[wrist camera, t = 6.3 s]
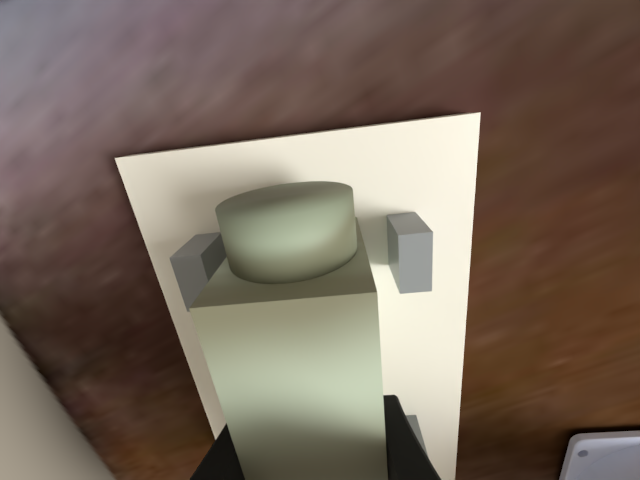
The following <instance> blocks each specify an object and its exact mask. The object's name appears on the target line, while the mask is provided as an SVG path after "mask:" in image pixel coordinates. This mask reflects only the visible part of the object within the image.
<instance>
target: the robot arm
mask: <svg viewBox="0 0 640 480" xmlns="http://www.w3.org/2000/svg"><path fill="white" fill-rule="evenodd" d="M383 400H384V418H385V435H386V453H387V470H388V480H441V478H440V477H439V475H438V473H437V472H436V470H435V468H434V467H433V465H432V463H431V462H430V460H429V458H428V456H427V455H426V453H425V451H424V450H423V448H422V446H421V444H420V443H419V441H418V439H417V437H416V435H415V433H414V431H413V429H412V427H411V426H410V424H409V422H408V419H407V417H406V415H405V413H404V411H403V409H402V406H401V404H400V401H399V399H398V397H397V396H396V395H383ZM190 480H245V478H244V475H243V471H242V468H241V465H240V462H239V459H238V456H237V453H236V450H235V447H234V444H233V441H232V438H231V435H230V432H229V429H228V426H227V423H226V424H225V426H224V428H223V429H222V431H221V433H220V434H219V436H218V437H217V439H216V440H215V442H214V444H213V445H212V447H211V448H210V450H209V451H208V453H207V454H206V456H205V457H204V459H203V460H202V462H201V463H200V465H199V466H198V468H197V469H196V471H195V472H194V474H193V475H192V477H191V478H190ZM559 480H640V430H638V431H618V432H599V433H580V434H576V435H574V436H572V437H571V439H570V441H569V445H568V448H567V452H566V456H565V460H564V463H563V467H562V471H561V475H560V478H559Z"/></svg>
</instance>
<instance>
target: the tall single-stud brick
mask: <svg viewBox="0 0 640 480" xmlns="http://www.w3.org/2000/svg"><path fill="white" fill-rule="evenodd" d="M215 212H216V216H217V220H218V224H219V228H220V232H221V236H222V239H223V243H224V247H225V251H226V255H227V257H226V258H225V260H224V261H223V262H222V264H221V265H220V266H219V268H218V269H217V271H216V272H215V273H214V275H213V276H212V277H211V279H210V280H209V282H208V283H207V284H206V286H205V287H204V288H203V290H202V291H201V293H200V294H199V295H198V297H197V298H196V299H195V301H194V302H193V303H192V305H191V306H190V308H189V310H190V313H191V316H192V319H193V322H194V325H195V328H196V332H197V335H198V338H199V341H200V344H201V347H202V350H203V353H204V356H205V359H206V362H207V365H208V368H209V371H210V374H211V377H212V380H213V383H214V386H215V389H216V392H217V395H218V398H219V402H220V405H221V408H222V411H223V414H224V417H225V420H226V423H227V426H228V429H229V432H230V435H231V438H232V441H233V444H234V447H235V450H236V453H237V456H238V459H239V462H240V465H241V468H242V471H243V475H244V478H245V480H388V470H387V453H386V435H385V418H384V400H383V383H382V365H381V348H380V330H379V313H378V295H377V289H376V285H375V282H374V278H373V274H372V271H371V267H370V263H369V260H368V256H367V252H366V248H365V245H364V241H363V237H362V234H361V230H360V226H359V223H358V219H357V217H355V210H354V198H353V189H352V187H351V186H349V185H347V184H344V183H339V182H330V181H309V182H296V183H287V184H280V185H274V186H269V187H264V188H259V189H255V190H251V191H248V192H244V193H241V194H238V195H236V196H233V197H231V198H228V199H226V200H224V201H223V202H221V203H220V204H218V205H217V206H216V208H215Z"/></svg>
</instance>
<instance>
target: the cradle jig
mask: <svg viewBox="0 0 640 480" xmlns="http://www.w3.org/2000/svg"><path fill="white" fill-rule="evenodd" d="M479 126H480V113H462V114H454V115H446V116H438V117H430V118H422V119H414V120H406V121H398V122H390V123H382V124H374V125H366V126H358V127H350V128H342V129H334V130H326V131H318V132H310V133H302V134H294V135H286V136H278V137H270V138H262V139H254V140H246V141H238V142H230V143H222V144H214V145H206V146H198V147H190V148H182V149H174V150H166V151H158V152H150V153H142V154H134V155H128V156H123V157H118V158H115V161H116V163H117V166H118V169H119V172H120V175H121V177H122V180H123V183H124V186H125V189H126V191H127V194H128V197H129V200H130V203H131V205H132V208H133V211H134V214H135V216H136V219H137V222H138V225H139V228H140V230H141V233H142V236H143V239H144V242H145V244H146V247H147V250H148V253H149V256H150V258H151V261H152V264H153V267H154V270H155V272H156V275H157V278H158V281H159V283H160V286H161V289H162V292H163V295H164V297H165V300H166V303H167V306H168V309H169V311H170V314H171V317H172V320H173V323H174V325H175V328H176V331H177V334H178V337H179V339H180V342H181V345H182V348H183V350H184V353H185V356H186V359H187V362H188V364H189V367H190V370H191V373H192V376H193V378H194V381H195V384H196V387H197V390H198V392H199V395H200V398H201V401H202V404H203V406H204V409H205V412H206V415H207V417H208V420H209V423H210V426H211V429H212V431H213V434H214V437H215V440H216V439H217V437H218V436H219V434H220V433H221V431H222V429H223V428H224V426H225V424H226V420H225V417H224V414H223V411H222V408H221V405H220V402H219V398H218V395H217V392H216V389H215V386H214V383H213V380H212V377H211V374H210V371H209V368H208V365H207V362H206V359H205V356H204V353H203V350H202V347H201V344H200V341H199V338H198V335H197V332H196V328H195V325H194V322H193V319H192V316H191V313H190V310H189V308H190V306H191V305H192V303H193V302H194V301H195V299H196V298H197V297H198V295H199V294H200V293H201V291H202V290H203V288H204V287H205V286H206V284H207V283H208V282H209V280H210V279H211V277H212V276H213V275H214V273H215V272H216V271H217V269H218V268H219V266H220V265H221V264H222V262H223V261H224V260H225V258H226V257H227V255H226V251H225V247H224V243H223V239H222V236H221V232H220V228H219V224H218V220H217V216H216V212H215V208H216V206H217V205H218V204H220V203H221V202H223V201H224V200H226V199H228V198H231V197H233V196H236V195H238V194H241V193H244V192H248V191H251V190H255V189H259V188H264V187H269V186H274V185H280V184H287V183H296V182H309V181H330V182H339V183H344V184H347V185H349V186H351V187H352V189H353V198H354V210H355V217H357V219H358V223H359V226H360V230H361V234H362V237H363V241H364V245H365V248H366V252H367V256H368V260H369V263H370V267H371V271H372V274H373V278H374V282H375V285H376V289H377V295H378V313H379V330H380V348H381V365H382V383H383V395H396V396H397V397H398V399H399V401H400V404H401V406H402V409H403V411H404V413H405V415H406V417H407V419H408V422H409V424H410V426H411V427H412V429H413V431H414V433H415V435H416V437H417V439H418V441H419V443H420V444H421V446H422V448H423V450H424V451H425V453H426V455H427V456H428V458H429V460H430V462H431V463H432V465H433V467H434V468H435V470H436V472H437V473H438V475H439V477H440V478H441V480H455V471H456V457H457V443H458V428H459V414H460V399H461V385H462V371H463V356H464V342H465V328H466V313H467V299H468V284H469V270H470V256H471V241H472V227H473V213H474V198H475V184H476V170H477V155H478V141H479Z"/></svg>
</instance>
